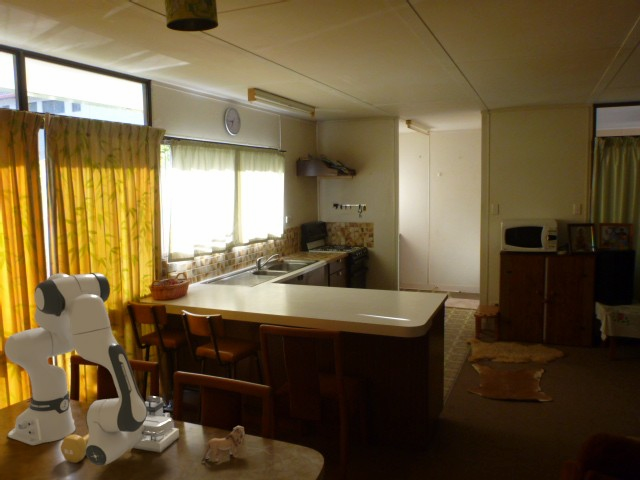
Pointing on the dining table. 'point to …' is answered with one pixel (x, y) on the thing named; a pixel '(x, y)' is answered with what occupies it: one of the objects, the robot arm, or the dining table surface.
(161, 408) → the white gray rectangular canister
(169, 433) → the tray
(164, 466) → the dining table surface
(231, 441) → the lion figurine
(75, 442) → the dumbbell
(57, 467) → the dining table surface
